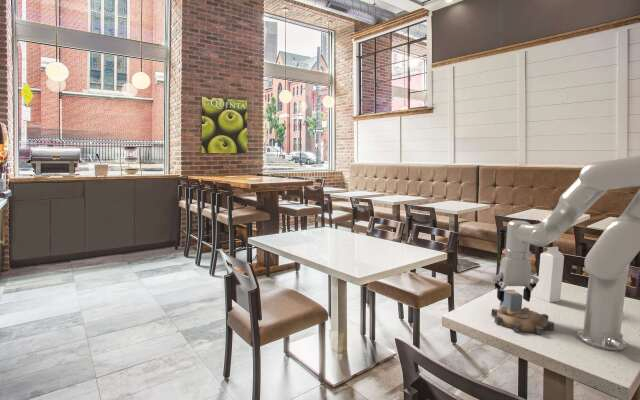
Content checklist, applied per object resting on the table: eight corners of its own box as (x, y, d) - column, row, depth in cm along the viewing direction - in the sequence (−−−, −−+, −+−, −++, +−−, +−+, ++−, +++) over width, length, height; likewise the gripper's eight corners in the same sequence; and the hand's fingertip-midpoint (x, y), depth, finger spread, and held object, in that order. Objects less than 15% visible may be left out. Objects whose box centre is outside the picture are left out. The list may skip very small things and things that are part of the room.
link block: (521, 311, 141) (522, 295, 141) (510, 311, 141) (511, 295, 140) (512, 305, 147) (513, 289, 147) (502, 305, 147) (503, 289, 146)
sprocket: (556, 319, 140) (557, 307, 139) (549, 340, 124) (551, 326, 123) (497, 306, 151) (498, 295, 151) (485, 323, 136) (485, 311, 135)
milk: (536, 297, 162) (540, 245, 160) (547, 295, 164) (551, 244, 162) (549, 302, 157) (554, 249, 154) (560, 301, 159) (565, 248, 156)
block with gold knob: (507, 310, 149) (508, 299, 148) (503, 310, 149) (504, 299, 148) (504, 307, 151) (504, 296, 150) (500, 307, 151) (500, 296, 150)
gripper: (534, 252, 145) (530, 296, 147) (488, 252, 144) (485, 296, 146) (546, 257, 138) (542, 304, 140) (498, 257, 137) (495, 304, 139)
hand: (513, 300), depth 143 cm, fingers open, 9 cm apart
